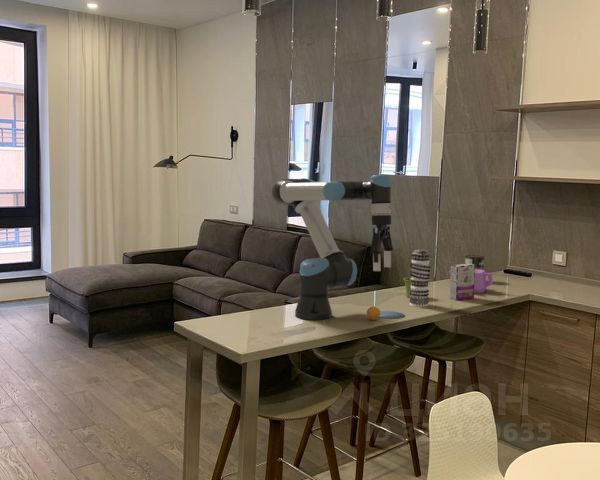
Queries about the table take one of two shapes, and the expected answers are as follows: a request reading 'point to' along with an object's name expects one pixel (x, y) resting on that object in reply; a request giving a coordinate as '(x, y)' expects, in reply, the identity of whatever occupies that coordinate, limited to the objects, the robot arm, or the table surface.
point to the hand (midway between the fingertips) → (382, 269)
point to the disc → (391, 315)
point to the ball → (373, 313)
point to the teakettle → (481, 281)
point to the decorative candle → (419, 278)
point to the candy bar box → (462, 281)
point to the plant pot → (408, 286)
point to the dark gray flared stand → (475, 261)
